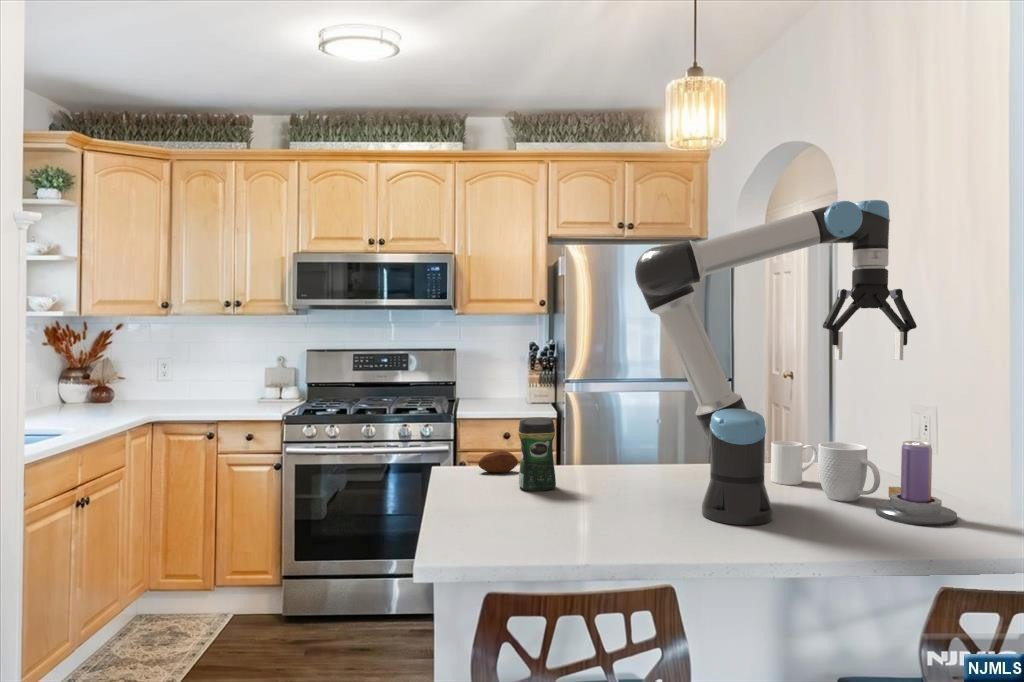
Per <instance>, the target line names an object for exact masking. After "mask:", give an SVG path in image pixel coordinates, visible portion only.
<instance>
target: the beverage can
mask: <svg viewBox="0 0 1024 682" xmlns="http://www.w3.org/2000/svg"><path fill="white" fill-rule="evenodd" d="M900 457H901V460H900V461H901V462H900V463H901V465H900V472H901V473H900V488H901V500H905V501H910V502H917V503H931V496H932V479H933V478H932V474H933V473H932V471H933V470H932V469H933V468H932V467H933V448H932V444H931V443H930V442H926V441H920V440H919V441H917V440H906V441H903V442H902V445H901V456H900Z"/></svg>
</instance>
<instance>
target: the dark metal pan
mask: <svg viewBox="0 0 1024 682" xmlns="http://www.w3.org/2000/svg"><path fill="white" fill-rule="evenodd" d="M888 498H890V499H889V500H883V501H879V502H877V503H875V514H876V515H877V516H879V517H880V518H883V519H886V520H889V521H890V522H894V523H900V524H904V525H912V526H918V527H919V526H920V527H935V528H936V527H938V528H939V527H947V526H948V527H949V526H953V525H955V524H957V522H958V513H957V512H956V511H955V510H953V509H951V508H948V507H945V506H942V505H943V504H942V502H943V501H942V499H941V498H940V499H939V498H937V497H934V496H932V495H931V503H917V502H910V501H905V500H901V486H888Z"/></svg>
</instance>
